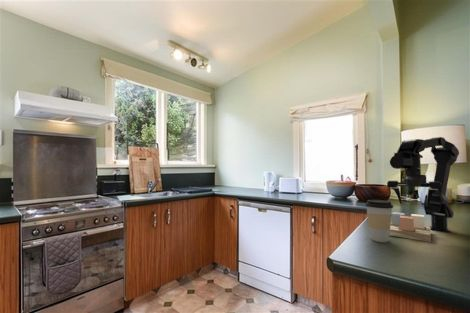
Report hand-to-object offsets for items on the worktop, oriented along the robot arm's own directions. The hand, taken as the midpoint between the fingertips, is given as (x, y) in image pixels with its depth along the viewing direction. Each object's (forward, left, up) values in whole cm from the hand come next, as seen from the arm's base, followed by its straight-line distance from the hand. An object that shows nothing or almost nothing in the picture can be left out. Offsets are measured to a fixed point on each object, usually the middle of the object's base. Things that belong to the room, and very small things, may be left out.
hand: (413, 204), depth 104 cm
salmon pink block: (+7, -2, -10) cm, 12 cm away
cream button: (-1, +1, -10) cm, 10 cm away
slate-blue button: (-1, -6, -10) cm, 11 cm away
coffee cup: (+21, -10, -12) cm, 26 cm away
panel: (+3, -2, -12) cm, 13 cm away
